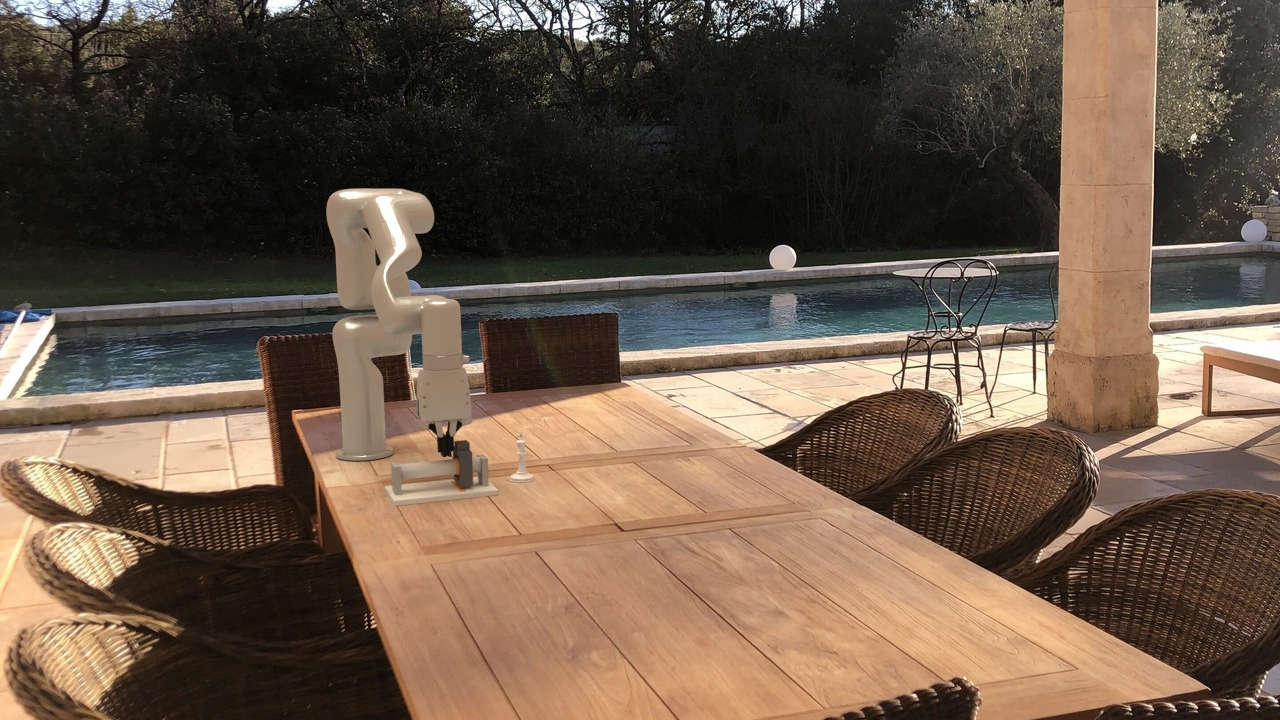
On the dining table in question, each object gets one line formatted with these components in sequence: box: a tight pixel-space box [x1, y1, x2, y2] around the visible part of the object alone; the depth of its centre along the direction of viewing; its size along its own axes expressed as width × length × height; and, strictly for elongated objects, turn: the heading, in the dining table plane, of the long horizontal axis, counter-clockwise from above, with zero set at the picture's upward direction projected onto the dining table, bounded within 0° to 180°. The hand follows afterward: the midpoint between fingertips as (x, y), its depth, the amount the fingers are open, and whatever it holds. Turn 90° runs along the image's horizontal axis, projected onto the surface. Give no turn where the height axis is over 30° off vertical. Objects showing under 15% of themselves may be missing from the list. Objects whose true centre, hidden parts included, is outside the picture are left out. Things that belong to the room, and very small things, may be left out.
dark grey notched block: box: [452, 439, 474, 487], centre depth 221 cm, size 2×7×8 cm, turn 21°
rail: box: [384, 454, 499, 507], centre depth 220 cm, size 20×12×7 cm, turn 111°
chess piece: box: [509, 431, 535, 484], centre depth 229 cm, size 5×5×10 cm
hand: (446, 455), depth 220 cm, fingers closed
